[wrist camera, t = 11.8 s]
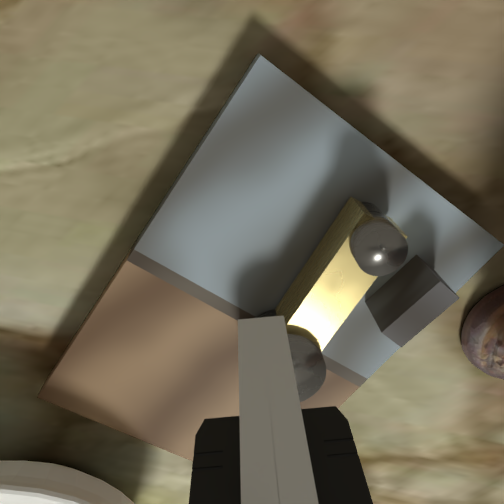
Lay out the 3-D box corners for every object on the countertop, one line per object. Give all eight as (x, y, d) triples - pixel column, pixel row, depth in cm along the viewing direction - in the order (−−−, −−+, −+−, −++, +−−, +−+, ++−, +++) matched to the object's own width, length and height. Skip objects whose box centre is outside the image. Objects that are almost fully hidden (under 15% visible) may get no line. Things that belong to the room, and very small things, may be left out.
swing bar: (291, 377, 28) (300, 422, 25) (229, 352, 27) (230, 396, 23) (406, 222, 24) (435, 252, 20) (338, 184, 22) (358, 210, 19)
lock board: (488, 233, 26) (538, 270, 22) (255, 468, 34) (260, 528, 30) (258, 53, 21) (266, 58, 17) (46, 379, 29) (17, 436, 25)
